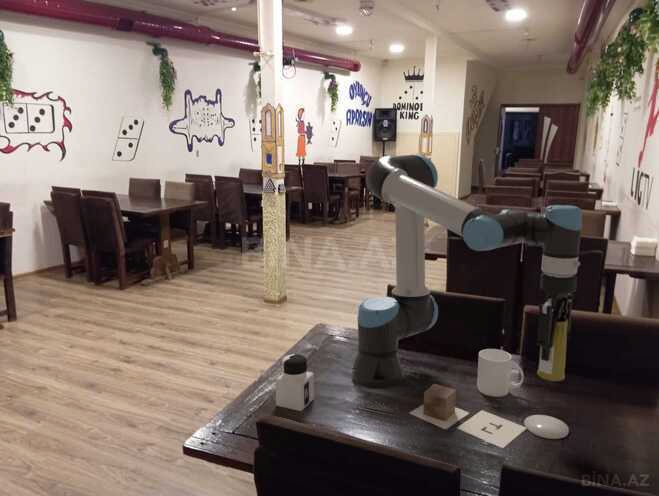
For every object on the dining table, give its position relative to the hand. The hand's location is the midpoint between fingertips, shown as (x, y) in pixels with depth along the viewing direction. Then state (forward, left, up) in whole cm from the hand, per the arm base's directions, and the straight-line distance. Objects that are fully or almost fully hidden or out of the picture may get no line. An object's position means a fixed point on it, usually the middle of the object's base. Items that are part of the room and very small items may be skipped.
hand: (551, 367), depth 122 cm
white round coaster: (0, 0, -16) cm, 16 cm away
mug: (-17, +9, -16) cm, 25 cm away
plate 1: (-22, -13, -16) cm, 30 cm away
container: (-53, -35, -16) cm, 65 cm away
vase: (0, 0, -2) cm, 2 cm away
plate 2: (-9, -10, -16) cm, 21 cm away
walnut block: (-22, -13, -15) cm, 30 cm away
